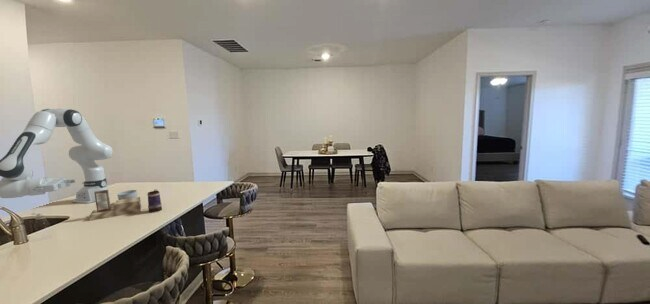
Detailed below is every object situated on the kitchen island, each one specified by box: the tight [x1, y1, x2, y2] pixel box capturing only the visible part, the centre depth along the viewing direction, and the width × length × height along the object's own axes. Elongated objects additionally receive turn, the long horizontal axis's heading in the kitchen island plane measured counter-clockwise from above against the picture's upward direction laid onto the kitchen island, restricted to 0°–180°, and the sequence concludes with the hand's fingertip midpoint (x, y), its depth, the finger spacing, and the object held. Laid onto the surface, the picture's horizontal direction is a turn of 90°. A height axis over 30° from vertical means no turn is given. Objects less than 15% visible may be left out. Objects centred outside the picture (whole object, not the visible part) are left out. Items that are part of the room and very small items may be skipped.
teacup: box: [116, 189, 138, 200], centre depth 193 cm, size 14×11×8 cm
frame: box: [94, 189, 112, 213], centre depth 168 cm, size 6×3×12 cm, turn 119°
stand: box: [89, 196, 142, 221], centre depth 172 cm, size 24×10×7 cm, turn 119°
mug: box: [147, 189, 163, 213], centre depth 176 cm, size 10×7×12 cm
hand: (72, 182), depth 160 cm, fingers open, 8 cm apart
